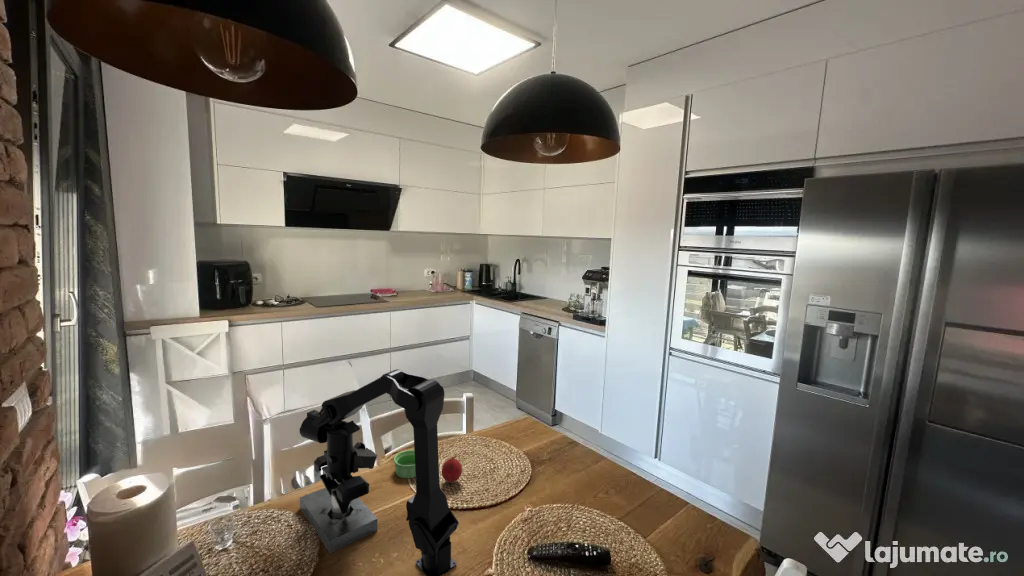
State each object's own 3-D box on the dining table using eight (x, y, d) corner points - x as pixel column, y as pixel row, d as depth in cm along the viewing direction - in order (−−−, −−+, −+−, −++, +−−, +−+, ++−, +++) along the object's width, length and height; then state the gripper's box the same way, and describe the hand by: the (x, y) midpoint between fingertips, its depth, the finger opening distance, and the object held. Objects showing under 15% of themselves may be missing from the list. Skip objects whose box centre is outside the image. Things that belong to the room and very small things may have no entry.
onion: (457, 490, 113) (458, 463, 112) (438, 486, 114) (438, 460, 113) (464, 478, 119) (464, 452, 118) (445, 475, 120) (446, 450, 119)
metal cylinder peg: (352, 518, 98) (352, 487, 97) (335, 525, 95) (335, 494, 94) (345, 510, 101) (345, 480, 100) (329, 517, 98) (328, 486, 97)
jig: (377, 530, 96) (377, 518, 96) (330, 553, 89) (329, 541, 88) (343, 490, 110) (343, 480, 110) (300, 508, 103) (299, 497, 102)
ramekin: (416, 459, 128) (416, 446, 127) (430, 473, 121) (430, 459, 120) (389, 469, 122) (389, 455, 121) (401, 483, 115) (401, 469, 115)
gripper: (390, 451, 95) (390, 512, 97) (356, 423, 108) (356, 478, 110) (342, 468, 87) (343, 535, 89) (312, 436, 100) (313, 495, 102)
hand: (340, 508), depth 98 cm, fingers closed on metal cylinder peg, 4 cm apart
